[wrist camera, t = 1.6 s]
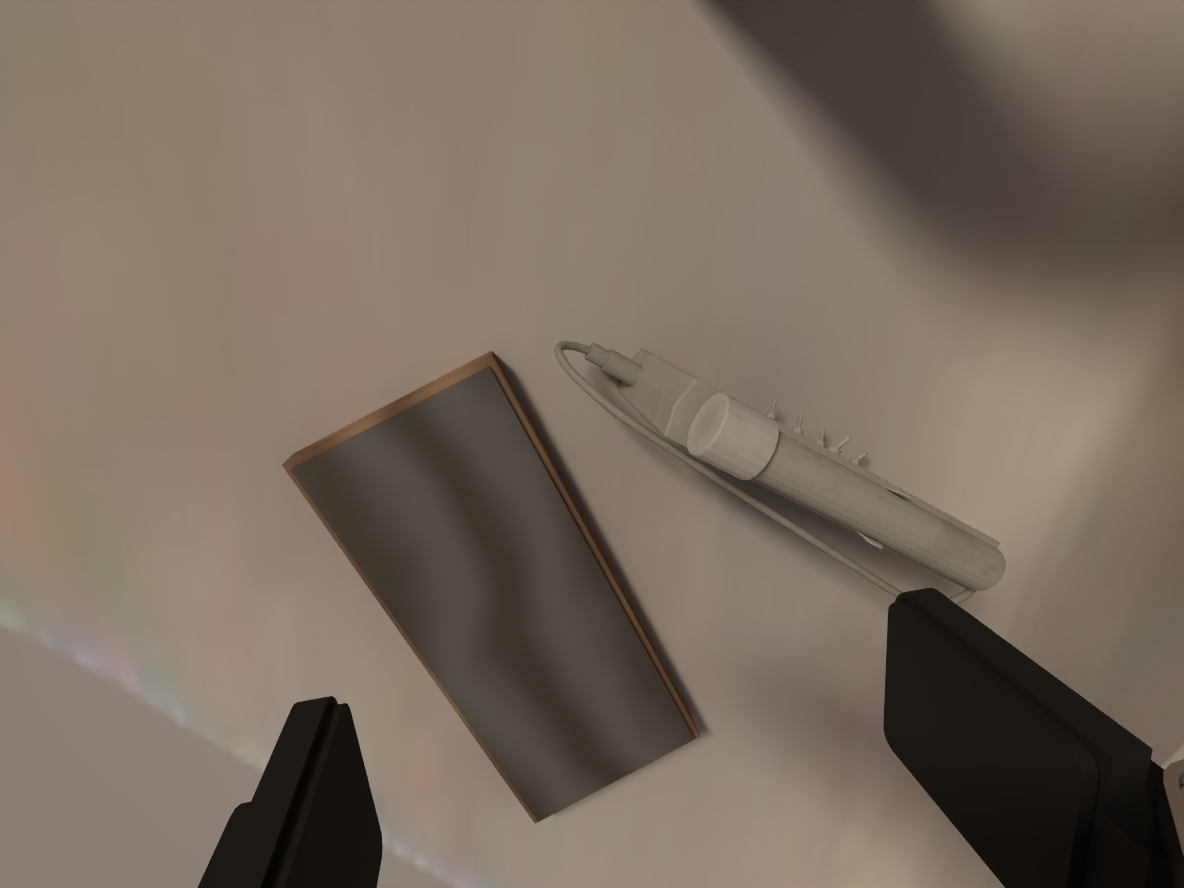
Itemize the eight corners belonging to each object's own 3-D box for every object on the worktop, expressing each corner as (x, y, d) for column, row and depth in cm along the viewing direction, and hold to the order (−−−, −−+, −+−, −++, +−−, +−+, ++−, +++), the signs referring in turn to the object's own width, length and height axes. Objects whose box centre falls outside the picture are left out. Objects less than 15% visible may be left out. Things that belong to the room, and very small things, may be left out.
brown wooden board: (491, 350, 37) (492, 357, 35) (690, 716, 47) (701, 740, 44) (293, 453, 37) (279, 467, 35) (533, 799, 47) (535, 828, 44)
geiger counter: (1069, 554, 31) (620, 303, 24) (993, 662, 32) (543, 450, 25) (892, 466, 44) (572, 289, 37) (843, 544, 45) (522, 385, 38)
